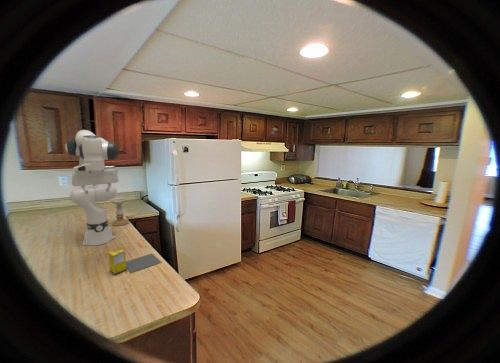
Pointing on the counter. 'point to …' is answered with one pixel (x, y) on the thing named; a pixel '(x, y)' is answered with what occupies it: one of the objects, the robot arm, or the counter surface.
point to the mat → (142, 263)
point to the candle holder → (119, 213)
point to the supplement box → (117, 261)
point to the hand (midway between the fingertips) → (97, 192)
